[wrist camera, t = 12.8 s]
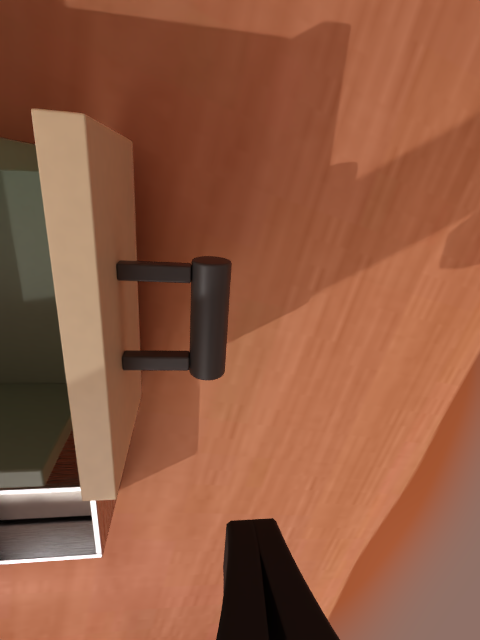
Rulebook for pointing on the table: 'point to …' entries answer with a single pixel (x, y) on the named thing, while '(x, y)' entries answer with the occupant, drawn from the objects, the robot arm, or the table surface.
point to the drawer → (83, 304)
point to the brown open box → (53, 517)
